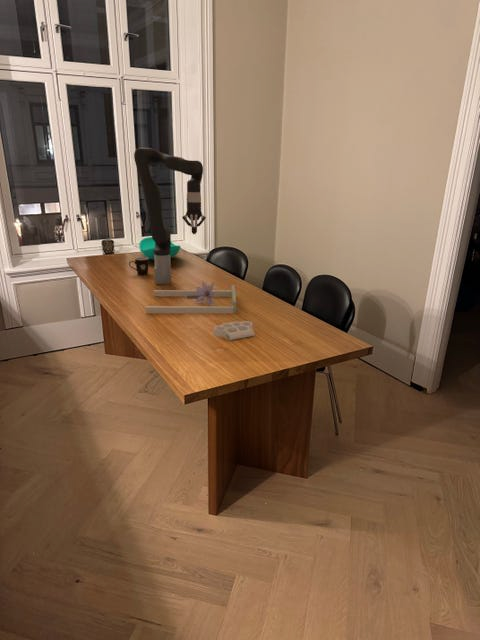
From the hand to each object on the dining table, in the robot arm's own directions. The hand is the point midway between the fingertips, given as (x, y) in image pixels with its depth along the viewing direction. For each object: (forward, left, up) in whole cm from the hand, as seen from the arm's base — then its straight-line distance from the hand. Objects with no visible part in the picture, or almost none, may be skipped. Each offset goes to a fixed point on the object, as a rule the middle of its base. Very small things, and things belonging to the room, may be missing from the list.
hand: (194, 234), depth 234 cm
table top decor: (-29, +74, -32) cm, 86 cm away
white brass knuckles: (+20, -63, -32) cm, 73 cm away
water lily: (+6, -22, -32) cm, 39 cm away
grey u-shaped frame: (0, -24, -32) cm, 40 cm away
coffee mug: (-37, +35, -32) cm, 60 cm away
